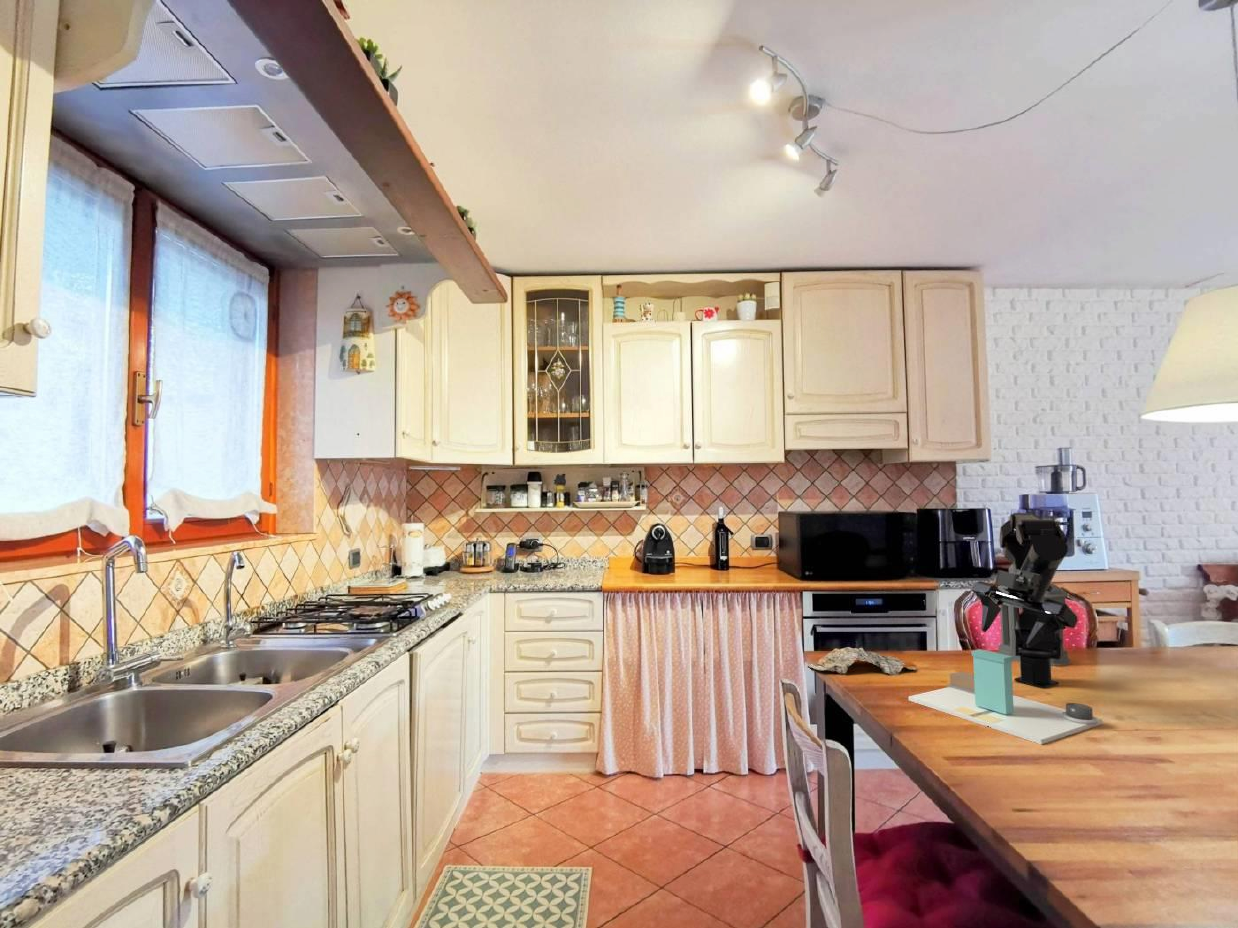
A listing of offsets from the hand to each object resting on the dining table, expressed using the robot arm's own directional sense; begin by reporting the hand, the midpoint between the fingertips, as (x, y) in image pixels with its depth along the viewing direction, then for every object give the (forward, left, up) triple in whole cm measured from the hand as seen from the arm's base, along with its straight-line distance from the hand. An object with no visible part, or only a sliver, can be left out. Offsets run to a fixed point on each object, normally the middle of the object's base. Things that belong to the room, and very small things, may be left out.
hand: (1004, 638), depth 124 cm
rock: (+3, -34, -14) cm, 37 cm away
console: (+5, +1, -14) cm, 15 cm away
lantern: (-43, -18, -14) cm, 49 cm away
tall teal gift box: (+8, +2, -12) cm, 15 cm away
